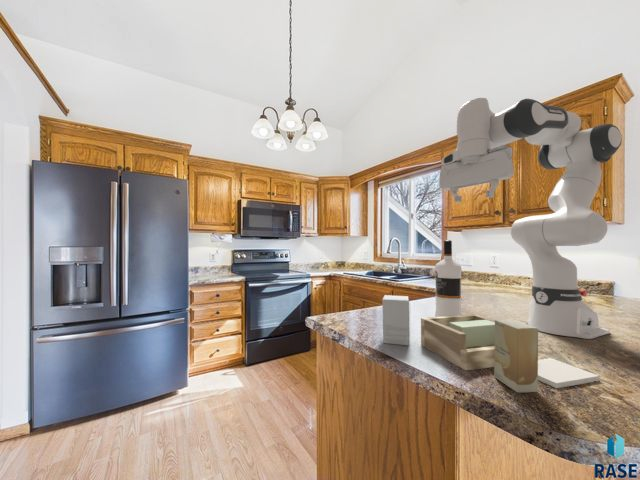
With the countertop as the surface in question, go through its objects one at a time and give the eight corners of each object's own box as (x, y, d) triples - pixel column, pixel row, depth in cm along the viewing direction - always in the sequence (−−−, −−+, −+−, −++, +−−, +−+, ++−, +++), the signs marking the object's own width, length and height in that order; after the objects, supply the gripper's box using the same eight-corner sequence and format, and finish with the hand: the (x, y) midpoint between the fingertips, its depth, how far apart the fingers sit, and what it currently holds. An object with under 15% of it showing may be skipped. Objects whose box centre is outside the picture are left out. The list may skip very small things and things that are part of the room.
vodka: (465, 332, 86) (464, 239, 87) (434, 328, 89) (433, 239, 90) (461, 324, 94) (460, 240, 95) (433, 321, 98) (432, 240, 99)
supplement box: (409, 337, 80) (409, 295, 80) (409, 346, 73) (409, 300, 73) (384, 335, 82) (384, 294, 83) (382, 343, 75) (382, 298, 76)
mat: (551, 362, 63) (551, 358, 63) (599, 380, 54) (599, 375, 54) (512, 368, 60) (511, 363, 60) (556, 388, 51) (556, 383, 51)
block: (486, 337, 73) (485, 319, 73) (501, 343, 68) (500, 324, 69) (449, 341, 70) (449, 322, 70) (462, 347, 65) (462, 327, 66)
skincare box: (493, 377, 56) (492, 318, 56) (512, 376, 56) (511, 318, 56) (518, 394, 49) (517, 327, 50) (540, 393, 50) (539, 327, 50)
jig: (474, 339, 79) (474, 314, 79) (529, 361, 63) (529, 330, 64) (421, 344, 74) (420, 317, 74) (465, 370, 59) (465, 336, 59)
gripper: (518, 145, 73) (518, 195, 72) (447, 164, 90) (447, 205, 89) (507, 139, 69) (507, 192, 69) (436, 161, 87) (436, 203, 86)
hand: (473, 199), depth 79 cm, fingers open, 8 cm apart
